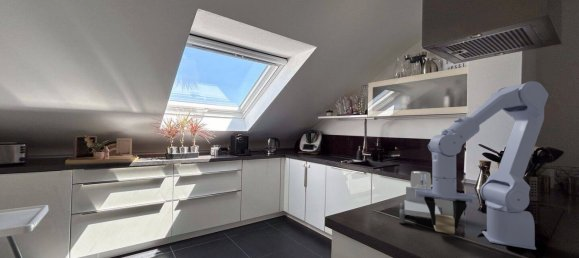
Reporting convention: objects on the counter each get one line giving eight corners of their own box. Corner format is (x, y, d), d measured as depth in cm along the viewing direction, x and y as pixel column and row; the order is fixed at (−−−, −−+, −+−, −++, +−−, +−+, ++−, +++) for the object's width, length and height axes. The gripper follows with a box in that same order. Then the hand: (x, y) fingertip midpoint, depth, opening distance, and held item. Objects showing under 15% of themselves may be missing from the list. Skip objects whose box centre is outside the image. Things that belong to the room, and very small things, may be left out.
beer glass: (415, 207, 98) (415, 170, 98) (434, 212, 93) (434, 172, 93) (407, 211, 94) (407, 171, 94) (426, 215, 88) (426, 174, 89)
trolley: (440, 218, 85) (440, 189, 85) (446, 232, 73) (447, 198, 73) (399, 213, 91) (400, 185, 91) (399, 224, 79) (399, 193, 79)
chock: (451, 228, 71) (451, 214, 71) (454, 234, 67) (454, 219, 67) (433, 225, 73) (433, 211, 73) (435, 231, 68) (435, 216, 69)
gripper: (471, 177, 69) (472, 225, 69) (414, 173, 76) (414, 217, 75) (478, 181, 63) (479, 234, 63) (415, 176, 69) (415, 224, 69)
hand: (444, 225), depth 69 cm, fingers closed on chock, 4 cm apart
